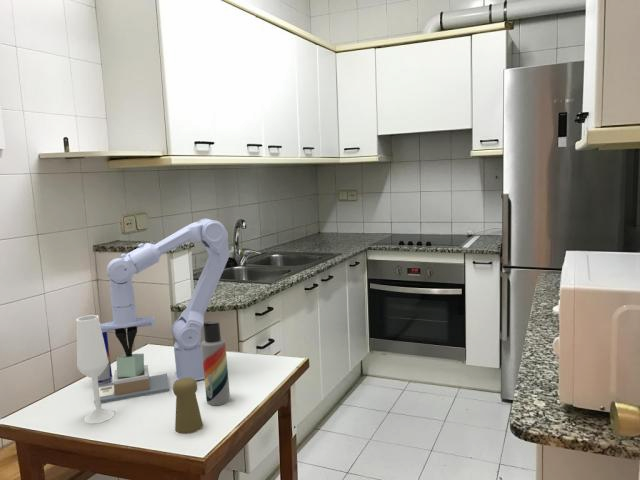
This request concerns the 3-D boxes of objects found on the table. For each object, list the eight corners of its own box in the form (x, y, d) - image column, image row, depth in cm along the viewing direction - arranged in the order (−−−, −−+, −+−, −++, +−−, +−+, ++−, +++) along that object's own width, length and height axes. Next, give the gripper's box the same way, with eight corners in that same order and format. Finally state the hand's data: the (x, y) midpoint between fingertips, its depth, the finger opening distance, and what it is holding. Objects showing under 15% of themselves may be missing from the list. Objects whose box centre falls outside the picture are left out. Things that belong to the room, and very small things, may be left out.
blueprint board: (167, 376, 150) (165, 360, 149) (169, 391, 140) (167, 374, 139) (97, 388, 144) (95, 371, 144) (94, 404, 134) (92, 386, 133)
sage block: (144, 372, 143) (143, 353, 143) (135, 376, 138) (134, 357, 139) (126, 372, 144) (125, 353, 144) (117, 376, 139) (116, 357, 139)
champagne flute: (100, 408, 132) (88, 313, 128) (120, 412, 129) (109, 315, 125) (77, 420, 126) (64, 321, 122) (98, 425, 123) (85, 323, 119)
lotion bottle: (202, 404, 131) (194, 324, 128) (214, 394, 136) (207, 317, 133) (222, 406, 129) (215, 325, 126) (234, 396, 134) (227, 318, 131)
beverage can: (105, 386, 145) (99, 332, 143) (88, 386, 146) (82, 332, 144) (116, 379, 150) (110, 327, 148) (99, 378, 151) (93, 327, 149)
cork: (177, 422, 122) (172, 375, 121) (204, 419, 123) (200, 373, 121) (172, 435, 116) (167, 386, 115) (201, 432, 117) (196, 384, 115)
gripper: (152, 298, 145) (157, 346, 147) (94, 305, 140) (100, 355, 142) (153, 303, 138) (158, 354, 140) (92, 311, 134) (98, 364, 136)
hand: (129, 355), depth 141 cm, fingers closed, pressing on sage block
